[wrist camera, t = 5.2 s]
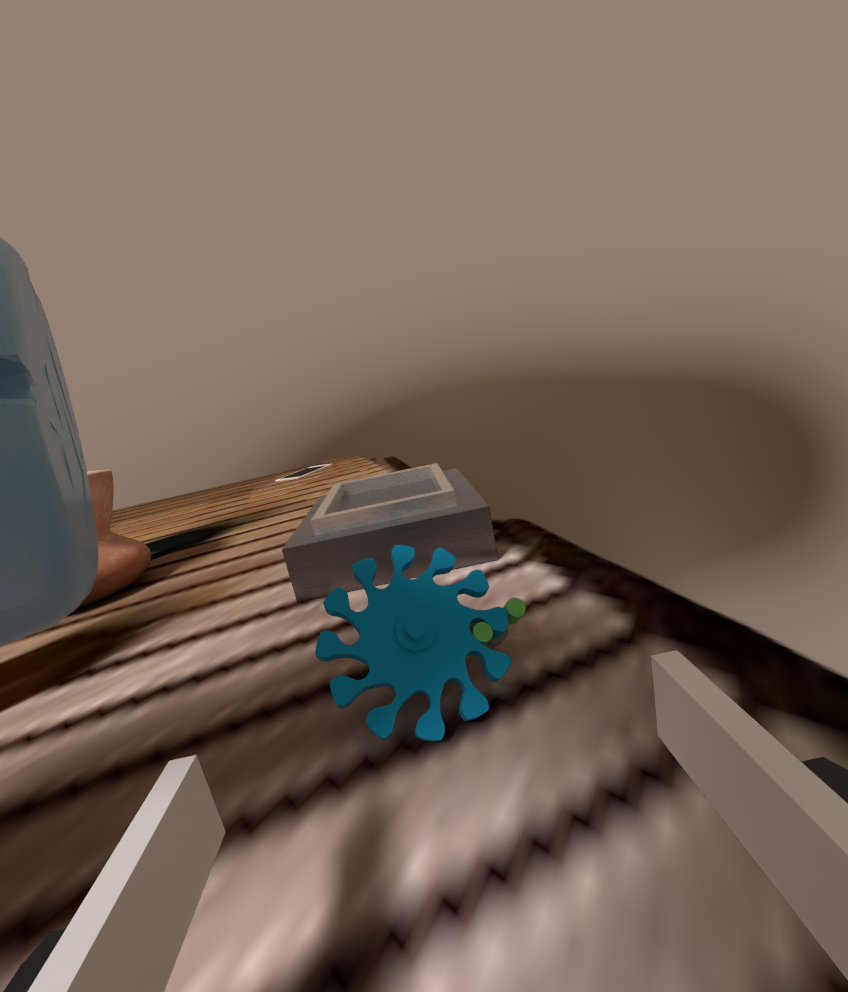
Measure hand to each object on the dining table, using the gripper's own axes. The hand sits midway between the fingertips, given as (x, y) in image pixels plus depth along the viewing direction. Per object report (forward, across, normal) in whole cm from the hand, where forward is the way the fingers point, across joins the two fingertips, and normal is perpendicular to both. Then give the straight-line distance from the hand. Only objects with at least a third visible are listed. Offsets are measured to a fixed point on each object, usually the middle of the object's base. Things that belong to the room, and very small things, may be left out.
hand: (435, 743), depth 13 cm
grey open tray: (+36, -2, -6) cm, 36 cm away
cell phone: (+111, -27, -6) cm, 114 cm away
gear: (+10, 0, -6) cm, 12 cm away
